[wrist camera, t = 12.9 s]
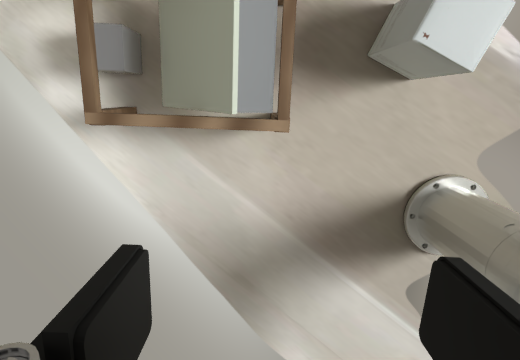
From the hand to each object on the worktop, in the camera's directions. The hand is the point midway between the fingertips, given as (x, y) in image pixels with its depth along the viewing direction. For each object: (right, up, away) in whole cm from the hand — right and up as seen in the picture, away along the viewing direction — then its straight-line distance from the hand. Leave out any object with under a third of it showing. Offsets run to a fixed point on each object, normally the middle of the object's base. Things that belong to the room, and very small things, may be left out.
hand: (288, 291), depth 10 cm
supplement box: (+18, +22, +32) cm, 43 cm away
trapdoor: (-4, +18, +27) cm, 33 cm away
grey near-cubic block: (-19, +19, +26) cm, 37 cm away
